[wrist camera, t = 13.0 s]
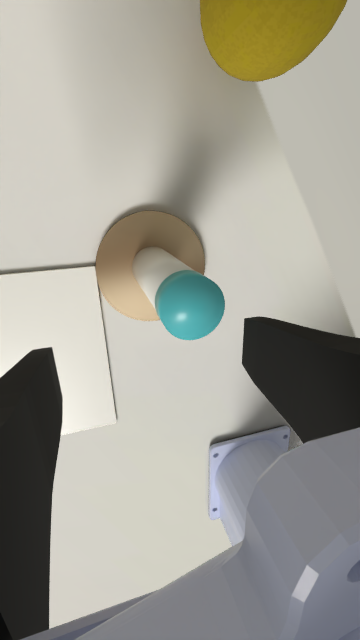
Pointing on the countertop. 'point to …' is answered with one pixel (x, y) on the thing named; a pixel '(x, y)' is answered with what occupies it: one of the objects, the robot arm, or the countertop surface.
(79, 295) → the paper
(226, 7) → the lemon
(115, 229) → the coaster
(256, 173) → the countertop surface
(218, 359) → the countertop surface
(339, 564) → the robot arm
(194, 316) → the marker
